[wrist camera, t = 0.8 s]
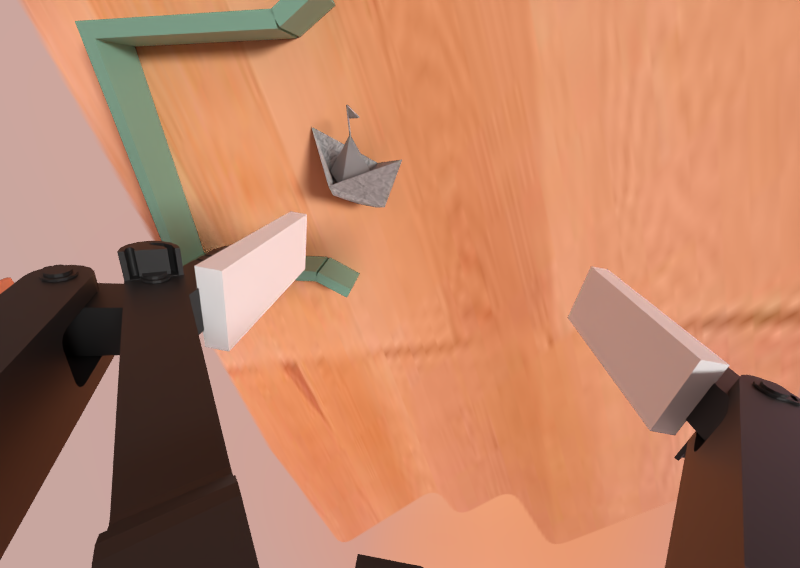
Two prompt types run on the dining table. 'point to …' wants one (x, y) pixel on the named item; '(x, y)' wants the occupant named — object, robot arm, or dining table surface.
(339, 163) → the paper boat
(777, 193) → the dining table surface
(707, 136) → the dining table surface
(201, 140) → the dining table surface
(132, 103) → the green u-shaped frame
